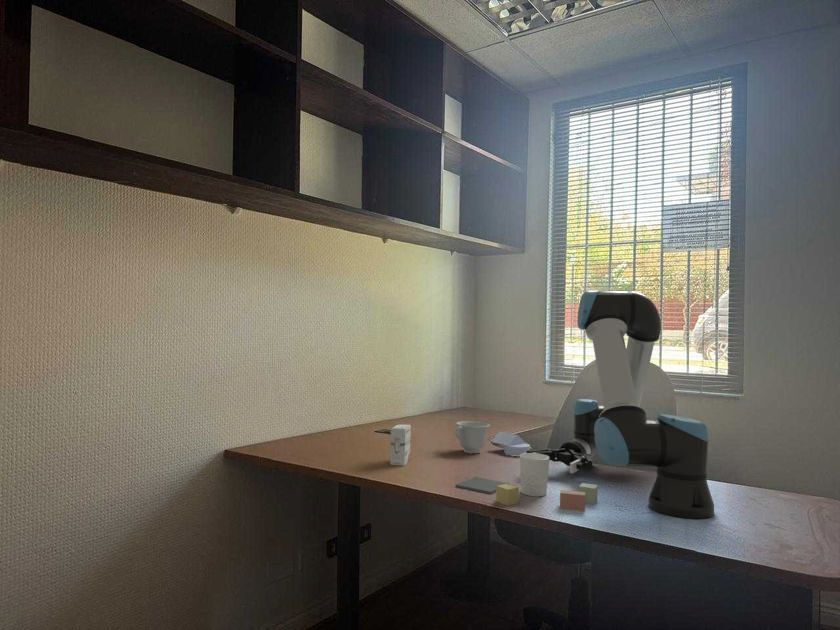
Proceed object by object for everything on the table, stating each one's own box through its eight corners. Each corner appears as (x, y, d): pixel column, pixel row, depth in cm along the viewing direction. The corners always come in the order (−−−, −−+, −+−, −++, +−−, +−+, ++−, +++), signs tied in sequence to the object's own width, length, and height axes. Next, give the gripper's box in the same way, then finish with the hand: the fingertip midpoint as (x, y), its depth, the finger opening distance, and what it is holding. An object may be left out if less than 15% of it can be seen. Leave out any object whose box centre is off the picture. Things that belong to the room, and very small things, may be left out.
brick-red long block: (584, 508, 149) (584, 492, 149) (584, 511, 146) (585, 495, 146) (560, 505, 150) (560, 489, 150) (559, 509, 147) (560, 492, 147)
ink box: (396, 459, 196) (397, 423, 196) (410, 460, 195) (411, 424, 195) (389, 465, 187) (390, 427, 187) (404, 466, 186) (405, 428, 186)
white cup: (513, 490, 162) (514, 453, 163) (537, 488, 165) (538, 452, 165) (529, 498, 155) (530, 460, 155) (554, 496, 158) (555, 458, 158)
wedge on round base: (490, 451, 213) (517, 458, 203) (491, 432, 213) (518, 438, 203) (508, 448, 219) (535, 455, 209) (508, 430, 219) (535, 435, 209)
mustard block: (518, 502, 151) (518, 487, 151) (507, 505, 149) (508, 489, 149) (506, 499, 154) (506, 483, 154) (496, 501, 152) (496, 485, 152)
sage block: (597, 500, 156) (597, 484, 156) (594, 504, 152) (595, 488, 152) (581, 497, 157) (582, 482, 157) (579, 501, 154) (579, 486, 154)
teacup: (442, 452, 208) (443, 423, 209) (469, 446, 219) (470, 419, 219) (469, 458, 200) (470, 428, 200) (495, 452, 211) (496, 424, 211)
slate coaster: (509, 485, 167) (509, 483, 167) (491, 494, 158) (491, 491, 158) (475, 478, 173) (475, 476, 173) (455, 486, 164) (455, 484, 164)
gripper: (614, 471, 178) (590, 485, 161) (537, 458, 193) (507, 470, 175) (614, 446, 179) (591, 458, 161) (537, 435, 193) (508, 445, 175)
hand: (547, 464), depth 168 cm, fingers open, 13 cm apart
